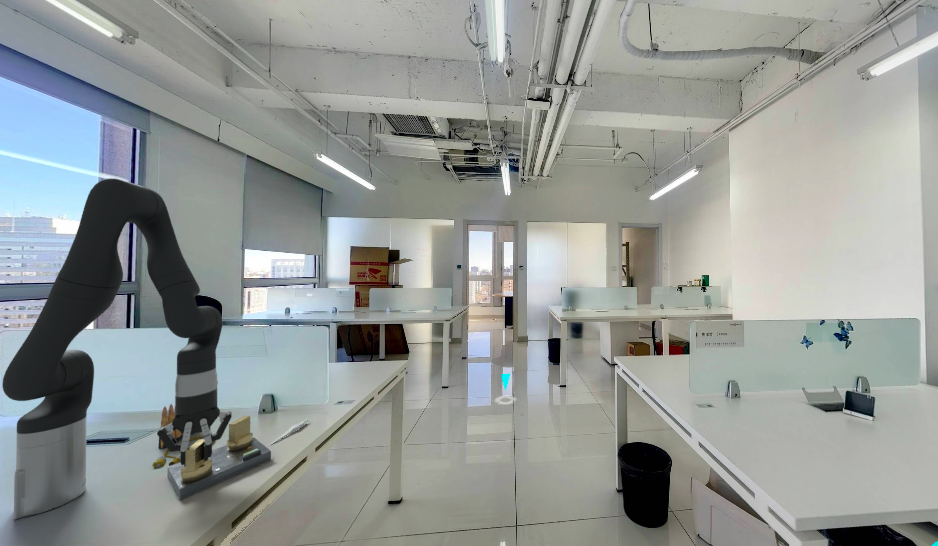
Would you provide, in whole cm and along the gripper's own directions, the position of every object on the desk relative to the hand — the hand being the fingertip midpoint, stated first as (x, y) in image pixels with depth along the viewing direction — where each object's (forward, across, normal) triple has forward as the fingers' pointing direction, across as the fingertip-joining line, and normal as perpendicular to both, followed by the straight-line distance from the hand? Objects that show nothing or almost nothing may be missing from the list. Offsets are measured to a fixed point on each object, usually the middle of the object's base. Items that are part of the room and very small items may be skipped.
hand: (196, 461), depth 71 cm
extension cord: (+6, -4, +23) cm, 24 cm away
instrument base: (+6, +4, +5) cm, 9 cm away
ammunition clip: (+6, -6, +33) cm, 34 cm away
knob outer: (+3, +8, +10) cm, 13 cm away
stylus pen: (+6, +21, +14) cm, 26 cm away
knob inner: (+3, 0, 0) cm, 3 cm away
